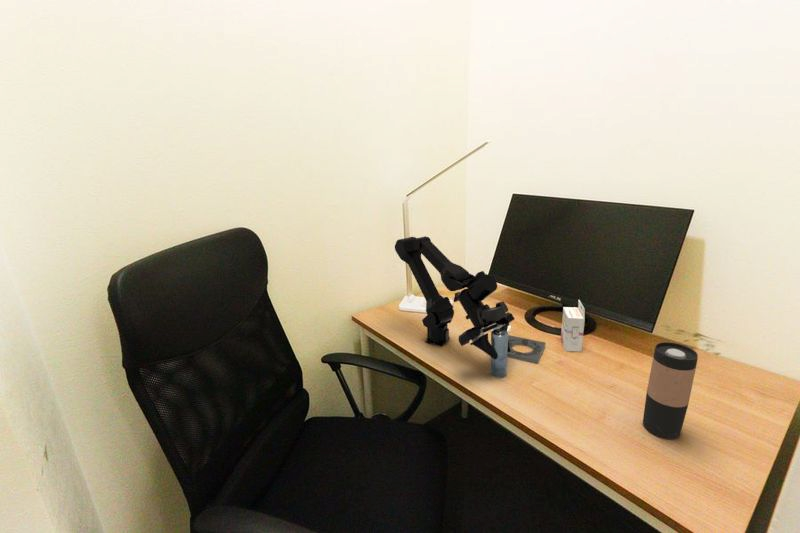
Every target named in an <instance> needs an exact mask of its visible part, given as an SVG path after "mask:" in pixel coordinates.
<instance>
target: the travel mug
mask: <svg viewBox="0 0 800 533" xmlns="http://www.w3.org/2000/svg"><path fill="white" fill-rule="evenodd" d="M652 356H653V358H652V361H651V362H652V363H651V368H650V373H649V378H648V383H647V388H646V395H645V402H644V409H643V417H642V424H643V427H644V429H645V430H646V431H648V432H649V434H651V435H654V436H655V437H658V438H660V439H664V440H677V439H678V438H679V437H680V436H681V433H682V430H683V427H684V422H685V418H686V415H687V411H688V408H689V407H688V406H689V402H690V399H691V393H692V389H693V383H694V378H695V374H696V371H697V370H696V369H697V364H698V358H699V357H698V356H699V355H698V353H697V352H696V350H694V349H693V348H691V347H688V346H686V345H683V344H681V343H676V342H670V341H667V342H660V343H657V344H656V345H655V346H654V350H653V355H652Z"/></svg>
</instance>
